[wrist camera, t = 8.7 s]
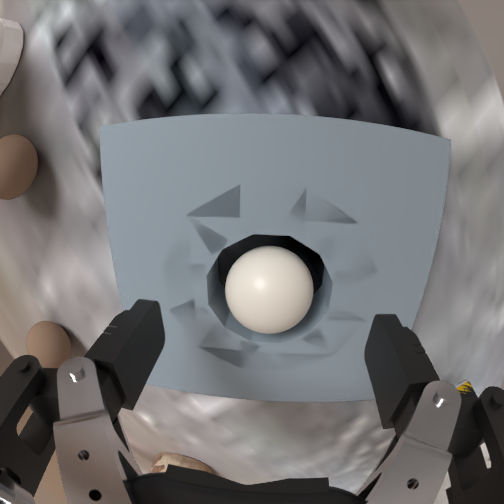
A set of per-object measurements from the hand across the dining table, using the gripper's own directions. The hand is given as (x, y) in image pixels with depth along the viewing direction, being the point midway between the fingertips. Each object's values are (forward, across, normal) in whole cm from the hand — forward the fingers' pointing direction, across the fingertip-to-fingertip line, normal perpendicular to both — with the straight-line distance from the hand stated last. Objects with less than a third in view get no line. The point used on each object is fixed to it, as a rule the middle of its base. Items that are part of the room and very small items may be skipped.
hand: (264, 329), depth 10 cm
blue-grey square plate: (+5, 0, 0) cm, 5 cm away
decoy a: (+3, +16, -6) cm, 17 cm away
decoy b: (+3, +16, +7) cm, 18 cm away
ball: (+3, 0, 0) cm, 3 cm away
